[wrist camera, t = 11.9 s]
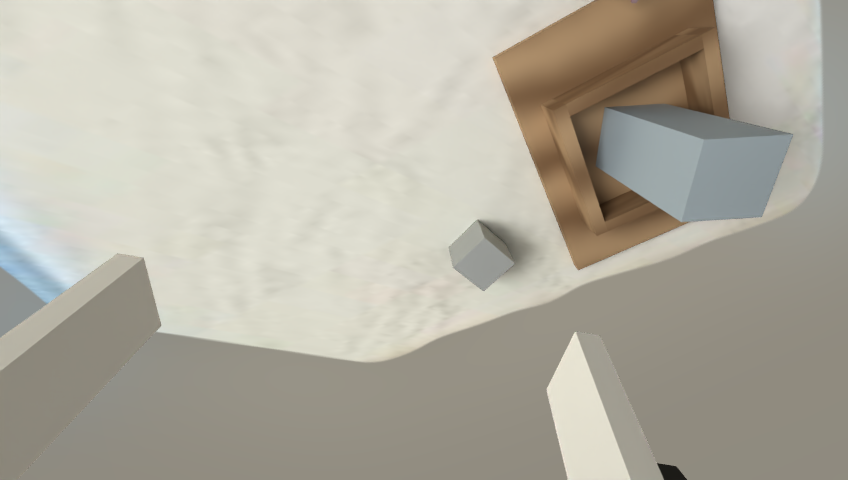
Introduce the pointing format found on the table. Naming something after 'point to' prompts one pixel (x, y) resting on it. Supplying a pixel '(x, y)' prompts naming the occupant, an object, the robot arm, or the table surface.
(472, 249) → the grey block
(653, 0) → the tray
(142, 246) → the table surface
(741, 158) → the block
